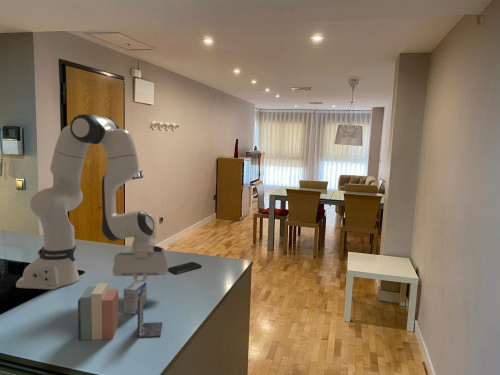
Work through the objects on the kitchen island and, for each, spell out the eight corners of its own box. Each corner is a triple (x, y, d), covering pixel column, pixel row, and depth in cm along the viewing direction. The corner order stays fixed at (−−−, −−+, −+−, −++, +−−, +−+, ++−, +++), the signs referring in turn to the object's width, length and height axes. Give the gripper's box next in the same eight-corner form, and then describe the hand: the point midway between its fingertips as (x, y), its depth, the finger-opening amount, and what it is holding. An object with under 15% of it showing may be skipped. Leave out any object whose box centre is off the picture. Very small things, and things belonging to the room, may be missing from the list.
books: (80, 340, 104) (80, 294, 102) (88, 326, 112) (88, 283, 110) (112, 338, 106) (112, 293, 104) (118, 325, 113) (118, 282, 112)
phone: (202, 265, 169) (175, 272, 158) (202, 268, 169) (175, 275, 158) (192, 261, 174) (166, 268, 164) (192, 263, 175) (166, 270, 164)
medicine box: (135, 315, 120) (135, 290, 119) (123, 313, 121) (123, 288, 120) (146, 305, 128) (146, 281, 127) (135, 303, 129) (135, 280, 128)
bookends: (78, 340, 104) (77, 301, 103) (86, 326, 112) (86, 289, 110) (160, 336, 108) (160, 298, 106) (162, 323, 116) (162, 287, 114)
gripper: (114, 248, 137) (108, 283, 128) (168, 248, 140) (166, 281, 131) (116, 256, 142) (111, 290, 133) (169, 255, 145) (167, 288, 136)
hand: (139, 285), depth 132 cm, fingers closed
